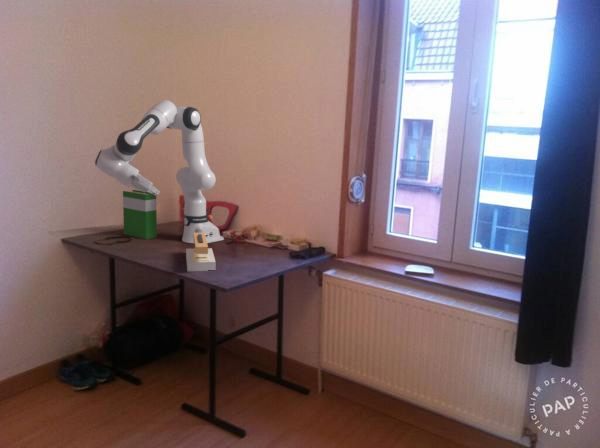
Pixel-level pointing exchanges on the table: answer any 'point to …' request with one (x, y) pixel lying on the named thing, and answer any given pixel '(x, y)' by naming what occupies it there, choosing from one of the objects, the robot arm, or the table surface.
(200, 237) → the light wooden bar
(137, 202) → the hardback book
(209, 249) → the two-drawer filing cabinet
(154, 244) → the table surface
